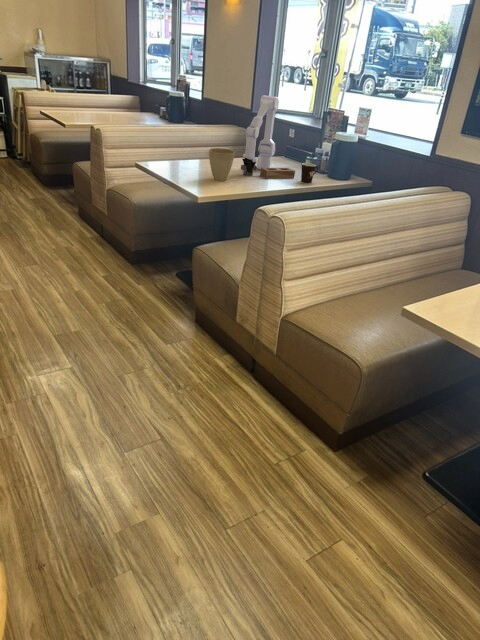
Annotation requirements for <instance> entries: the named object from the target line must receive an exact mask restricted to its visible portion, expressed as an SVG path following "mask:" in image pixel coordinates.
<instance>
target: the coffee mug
mask: <svg viewBox="0 0 480 640" xmlns="http://www.w3.org/2000/svg"><path fill="white" fill-rule="evenodd" d="M318 169H319V168H318V166H317V165H316V164H314V163H309V162H303V163H301V175H300V176H301V178H300V181H301V182H302V183H308V184H310V183H313V179H314V175H315V174H316V173H317V172H318Z"/></svg>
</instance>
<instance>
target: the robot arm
mask: <svg viewBox="0 0 480 640" xmlns="http://www.w3.org/2000/svg"><path fill="white" fill-rule="evenodd" d="M279 102H280V100H279V97H278V96H271V95H265V94H264V95H263V94H262V96H261V97H260V103H259V105H260V107H259V109H258V111H257V115H255V116H254V117H253V119H252V121H251V123H250V124H249V126H248V127H246V128H245V132H244V133H245V135H244V136H245V141H246V142H245V152H244V153H242V157H243V158H242V162H243V165H248V173H252V170H253V168H254V165H256V169H258V170H260V171H261V168H271V166H272V165H271V163H272V157H273V156H274V155H275V154H276V142H274V140H273V133H274V124H275V118H276V112H278V110H279V104H280V103H279ZM265 115H266V119H265V128H264V135H263V139H262V140H260V141H259V144H258V148H257V151H258V153H259V154H258V157H257V158H256V155H255V153H256V146H257V144H256V143H257V138H258V137H259V133H260V128H261V127H262V125H263V122H264V121H263V118H264V117H265ZM253 171H254V170H253Z"/></svg>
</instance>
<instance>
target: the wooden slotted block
mask: <svg viewBox="0 0 480 640" xmlns="http://www.w3.org/2000/svg"><path fill="white" fill-rule="evenodd" d="M259 175H260V176H261V177H263V178H264V179H294V178H295V175H296V170H295V169H292V168H291V167H270V168H261V170H260V173H259Z"/></svg>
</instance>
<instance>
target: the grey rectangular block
mask: <svg viewBox="0 0 480 640" xmlns="http://www.w3.org/2000/svg"><path fill="white" fill-rule="evenodd" d="M256 167H257V164H255V165H254V168H253V170H252V173H248V165H244V164H241V165H240V170H241V171H242V172H243V173H242V174H243V176H245V177H247V176H250V177H251V176H253V175H254V171H257V168H256Z"/></svg>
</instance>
